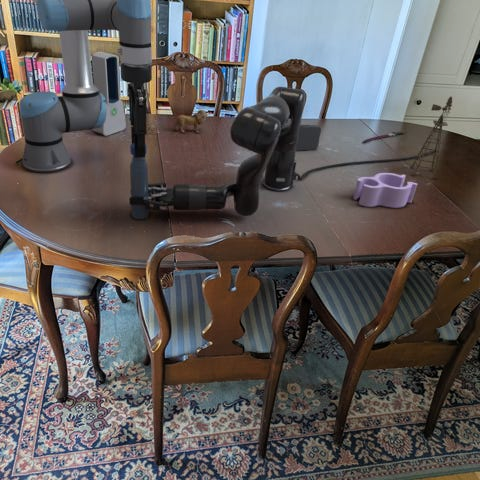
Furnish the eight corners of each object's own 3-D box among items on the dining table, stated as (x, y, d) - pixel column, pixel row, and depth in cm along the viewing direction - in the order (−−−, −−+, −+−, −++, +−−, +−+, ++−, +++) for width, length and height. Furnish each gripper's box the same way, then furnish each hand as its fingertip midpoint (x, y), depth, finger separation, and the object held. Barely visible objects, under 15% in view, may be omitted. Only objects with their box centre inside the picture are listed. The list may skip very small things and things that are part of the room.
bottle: (141, 221, 134) (139, 152, 123) (128, 215, 136) (125, 147, 125) (152, 214, 138) (151, 147, 126) (139, 209, 140) (137, 142, 128)
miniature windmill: (435, 179, 179) (462, 101, 163) (413, 175, 180) (438, 97, 164) (432, 170, 187) (457, 94, 170) (410, 166, 188) (434, 91, 171)
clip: (365, 210, 152) (371, 191, 148) (346, 193, 162) (351, 174, 158) (416, 205, 158) (422, 187, 155) (395, 189, 168) (400, 171, 164)
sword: (401, 131, 224) (402, 128, 223) (406, 133, 222) (407, 131, 221) (358, 142, 208) (358, 140, 207) (363, 145, 206) (363, 142, 205)
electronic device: (104, 136, 184) (98, 57, 168) (90, 131, 187) (84, 53, 171) (126, 129, 193) (123, 53, 177) (113, 124, 196) (109, 49, 180)
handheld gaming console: (315, 147, 196) (319, 124, 190) (317, 149, 194) (322, 126, 188) (264, 149, 189) (267, 125, 183) (266, 152, 187) (269, 127, 181)
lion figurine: (203, 128, 203) (204, 107, 198) (207, 132, 199) (208, 111, 194) (170, 129, 198) (170, 108, 193) (173, 133, 194) (173, 112, 189)
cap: (145, 149, 129) (145, 142, 127) (147, 155, 125) (147, 148, 124) (130, 150, 128) (129, 142, 126) (131, 156, 124) (130, 148, 123)
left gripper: (115, 55, 119) (120, 142, 132) (125, 72, 106) (129, 167, 119) (145, 55, 122) (146, 140, 134) (158, 72, 108) (158, 165, 121)
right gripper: (189, 174, 140) (130, 173, 137) (191, 197, 128) (128, 196, 125) (188, 197, 144) (131, 196, 141) (190, 220, 132) (129, 220, 129)
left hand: (138, 153), depth 126 cm, fingers closed on cap, 4 cm apart
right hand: (130, 196), depth 133 cm, fingers closed on bottle, 5 cm apart
